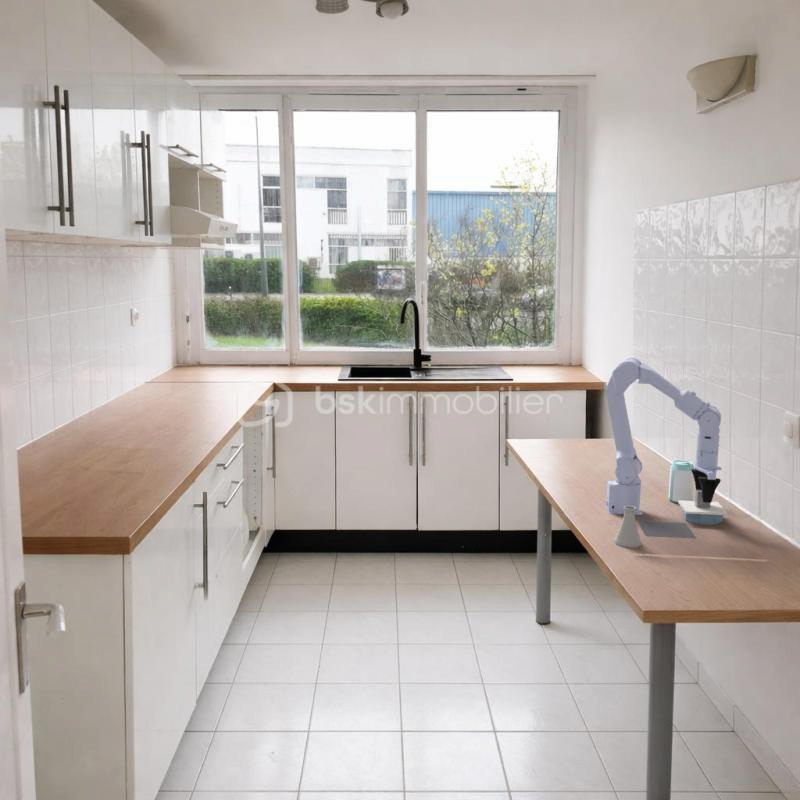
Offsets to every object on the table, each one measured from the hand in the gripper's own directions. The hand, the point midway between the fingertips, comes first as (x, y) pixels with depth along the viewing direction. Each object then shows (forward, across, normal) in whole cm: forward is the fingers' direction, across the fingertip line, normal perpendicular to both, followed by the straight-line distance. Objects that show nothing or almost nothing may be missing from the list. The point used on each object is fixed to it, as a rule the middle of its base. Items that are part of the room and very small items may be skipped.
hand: (703, 498), depth 249 cm
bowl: (+6, 0, 0) cm, 6 cm away
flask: (+7, -24, +24) cm, 35 cm away
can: (+7, +20, +2) cm, 21 cm away
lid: (+3, 0, 0) cm, 3 cm away
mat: (+6, -11, +12) cm, 18 cm away
